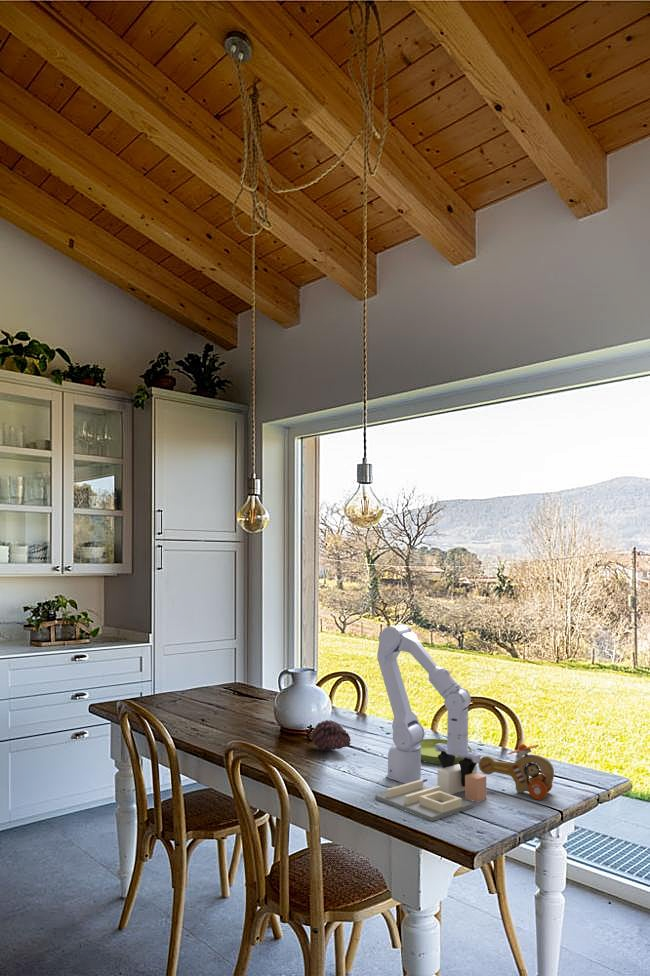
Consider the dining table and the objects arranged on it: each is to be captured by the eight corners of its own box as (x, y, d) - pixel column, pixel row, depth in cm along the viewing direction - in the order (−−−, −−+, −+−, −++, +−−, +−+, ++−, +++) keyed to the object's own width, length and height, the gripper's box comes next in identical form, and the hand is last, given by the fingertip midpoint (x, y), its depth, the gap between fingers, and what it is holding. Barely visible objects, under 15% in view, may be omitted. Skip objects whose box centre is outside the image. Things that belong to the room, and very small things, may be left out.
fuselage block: (437, 792, 207) (437, 769, 207) (465, 783, 215) (465, 762, 215) (448, 795, 204) (448, 773, 204) (476, 787, 212) (476, 765, 212)
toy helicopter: (550, 802, 200) (550, 750, 201) (474, 788, 210) (474, 738, 211) (556, 793, 207) (556, 743, 208) (483, 780, 217) (483, 732, 218)
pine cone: (359, 755, 240) (359, 723, 241) (336, 761, 233) (336, 728, 234) (323, 743, 253) (323, 713, 254) (300, 748, 247) (300, 717, 247)
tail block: (464, 798, 202) (465, 775, 202) (474, 794, 205) (474, 772, 205) (476, 802, 199) (476, 779, 199) (486, 799, 202) (486, 776, 202)
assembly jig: (375, 798, 200) (375, 787, 200) (416, 786, 210) (416, 776, 210) (431, 821, 185) (432, 808, 185) (473, 807, 195) (473, 795, 195)
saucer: (397, 761, 236) (397, 750, 236) (419, 745, 254) (419, 735, 254) (462, 771, 227) (462, 760, 227) (479, 754, 245) (479, 744, 245)
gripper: (428, 730, 213) (428, 779, 212) (469, 741, 202) (468, 792, 201) (444, 726, 218) (444, 774, 217) (485, 737, 207) (485, 787, 206)
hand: (457, 783), depth 209 cm, fingers open, 5 cm apart
